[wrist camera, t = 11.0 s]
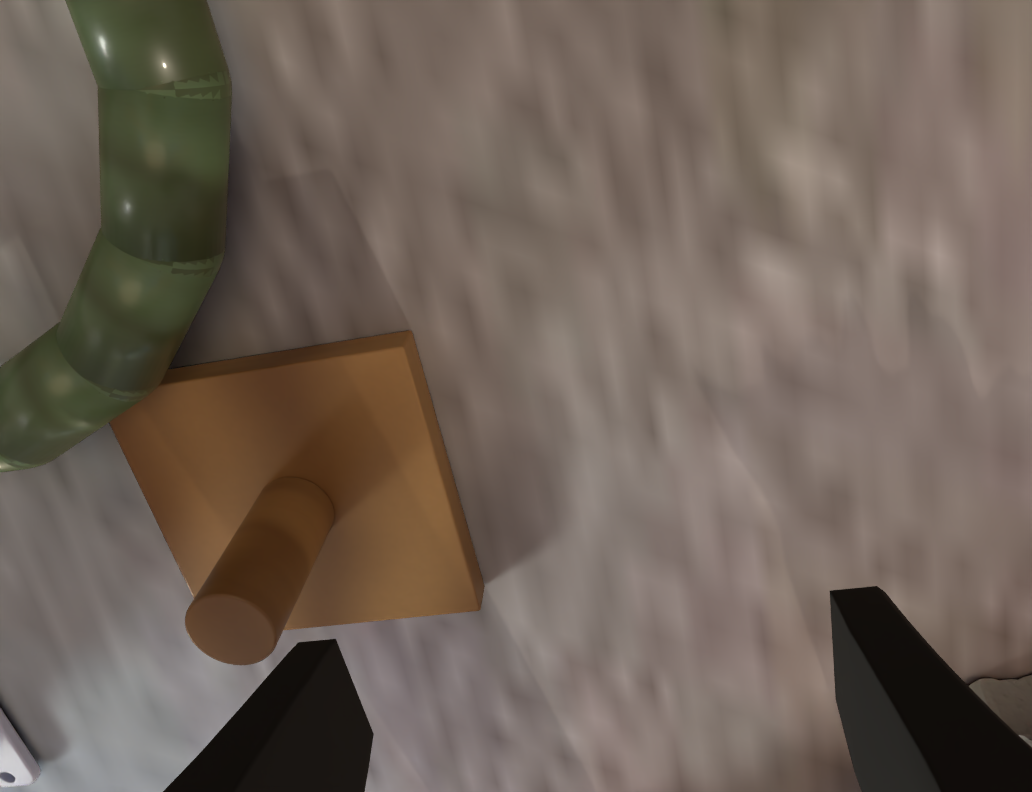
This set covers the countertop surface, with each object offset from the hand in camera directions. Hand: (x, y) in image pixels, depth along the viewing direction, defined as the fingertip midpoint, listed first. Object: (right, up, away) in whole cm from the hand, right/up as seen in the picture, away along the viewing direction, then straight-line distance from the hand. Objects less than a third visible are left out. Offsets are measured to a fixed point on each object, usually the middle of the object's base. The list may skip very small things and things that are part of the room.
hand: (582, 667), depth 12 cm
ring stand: (-7, +1, +11) cm, 13 cm away
